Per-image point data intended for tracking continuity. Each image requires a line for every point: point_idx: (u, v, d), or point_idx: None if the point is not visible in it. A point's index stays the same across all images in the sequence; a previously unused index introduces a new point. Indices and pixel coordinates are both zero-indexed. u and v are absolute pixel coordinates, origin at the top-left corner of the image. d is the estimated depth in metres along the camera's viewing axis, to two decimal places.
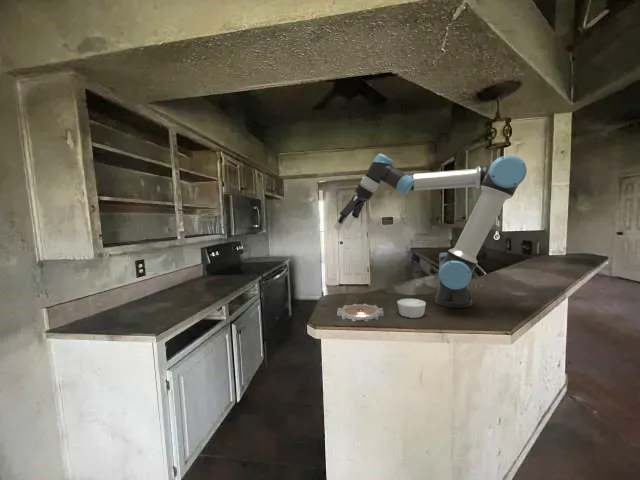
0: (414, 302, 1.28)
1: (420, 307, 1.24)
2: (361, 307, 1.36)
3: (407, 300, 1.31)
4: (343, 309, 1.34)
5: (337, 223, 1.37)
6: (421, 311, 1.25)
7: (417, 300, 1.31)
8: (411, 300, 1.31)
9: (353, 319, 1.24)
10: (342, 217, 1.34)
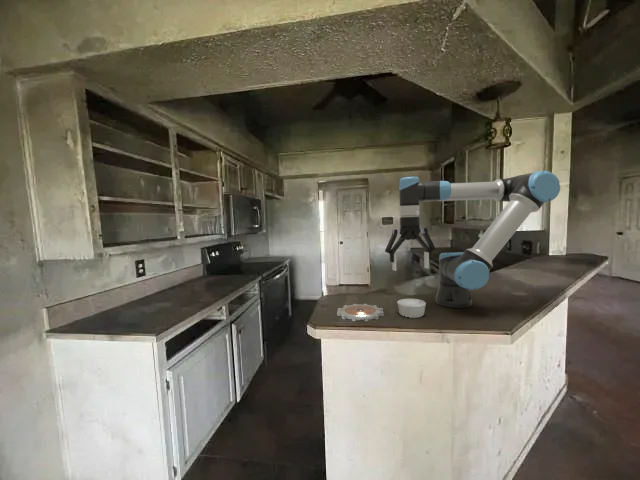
0: (414, 302, 1.28)
1: (420, 307, 1.24)
2: (361, 307, 1.36)
3: (407, 300, 1.31)
4: (343, 309, 1.34)
5: (392, 263, 1.27)
6: (421, 311, 1.25)
7: (417, 300, 1.31)
8: (411, 300, 1.31)
9: (353, 319, 1.24)
10: (390, 255, 1.26)
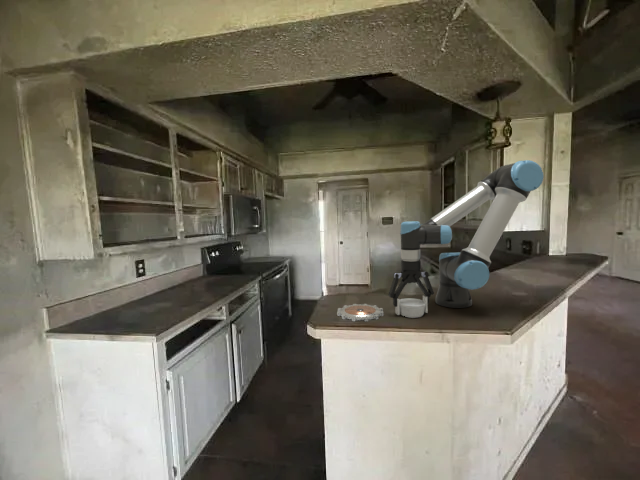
0: (414, 302, 1.28)
1: (420, 307, 1.24)
2: (361, 307, 1.36)
3: (407, 300, 1.31)
4: (343, 309, 1.34)
5: (395, 307, 1.29)
6: (421, 311, 1.25)
7: (417, 300, 1.31)
8: (411, 300, 1.31)
9: (353, 319, 1.24)
10: (393, 299, 1.28)
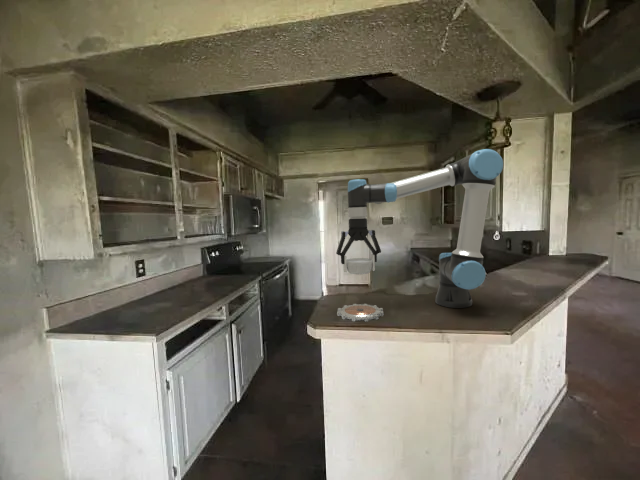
0: (361, 260, 1.30)
1: (365, 263, 1.26)
2: (361, 307, 1.36)
3: (356, 259, 1.33)
4: (343, 309, 1.34)
5: None
6: (367, 267, 1.27)
7: (365, 258, 1.33)
8: (359, 259, 1.33)
9: (353, 319, 1.24)
10: (341, 257, 1.30)
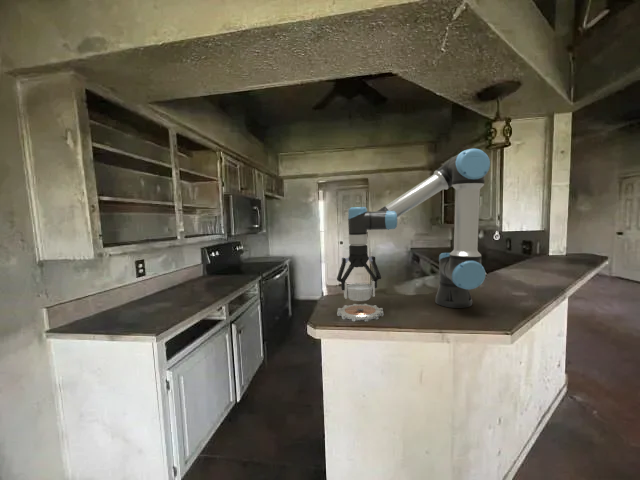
0: (361, 286, 1.31)
1: (365, 290, 1.26)
2: (361, 307, 1.36)
3: (356, 284, 1.34)
4: (343, 309, 1.34)
5: (344, 291, 1.32)
6: (367, 294, 1.27)
7: (365, 284, 1.34)
8: (360, 284, 1.34)
9: (353, 319, 1.24)
10: (341, 283, 1.30)
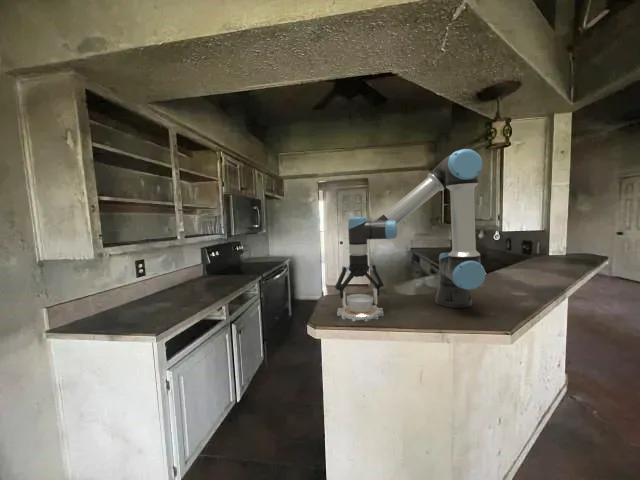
0: (362, 297, 1.31)
1: (366, 302, 1.27)
2: None
3: (356, 295, 1.35)
4: (343, 309, 1.34)
5: (342, 299, 1.32)
6: (367, 306, 1.28)
7: (366, 296, 1.34)
8: (360, 296, 1.34)
9: (353, 319, 1.24)
10: (340, 291, 1.31)
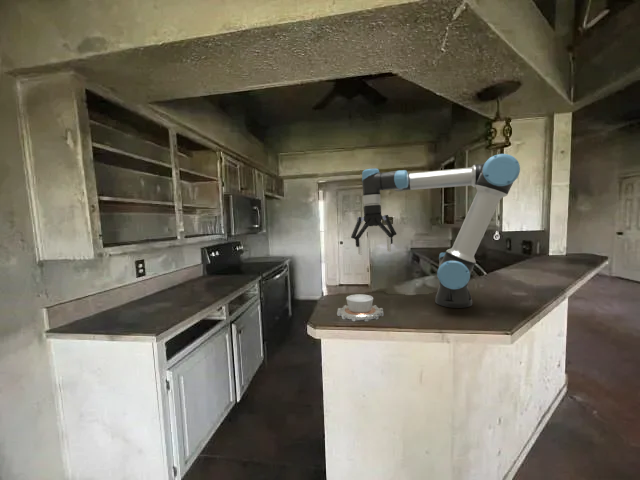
0: (362, 297, 1.31)
1: (366, 302, 1.27)
2: None
3: (356, 296, 1.35)
4: (343, 309, 1.34)
5: (358, 248, 1.39)
6: (367, 306, 1.28)
7: (366, 296, 1.34)
8: (360, 296, 1.34)
9: (353, 319, 1.24)
10: (356, 240, 1.38)
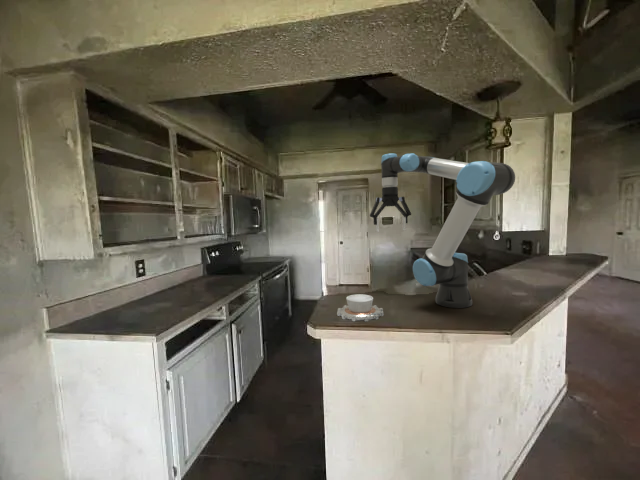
0: (362, 297, 1.31)
1: (366, 302, 1.27)
2: None
3: (356, 296, 1.35)
4: (343, 309, 1.34)
5: (376, 226, 1.54)
6: (367, 306, 1.28)
7: (366, 296, 1.34)
8: (360, 296, 1.34)
9: (353, 319, 1.24)
10: None
